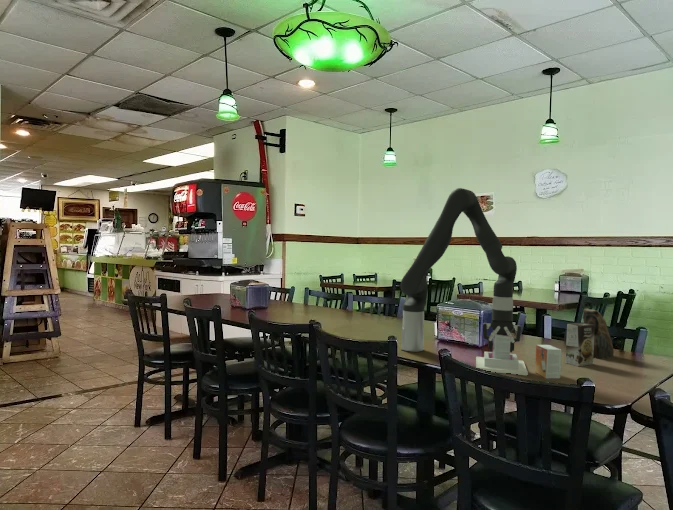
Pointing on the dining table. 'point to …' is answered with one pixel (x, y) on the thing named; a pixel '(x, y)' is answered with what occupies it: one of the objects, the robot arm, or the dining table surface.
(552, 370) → the small box
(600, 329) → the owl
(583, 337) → the coffee box
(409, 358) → the dining table surface
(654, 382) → the dining table surface
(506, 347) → the supplement box
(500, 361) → the collar socket
